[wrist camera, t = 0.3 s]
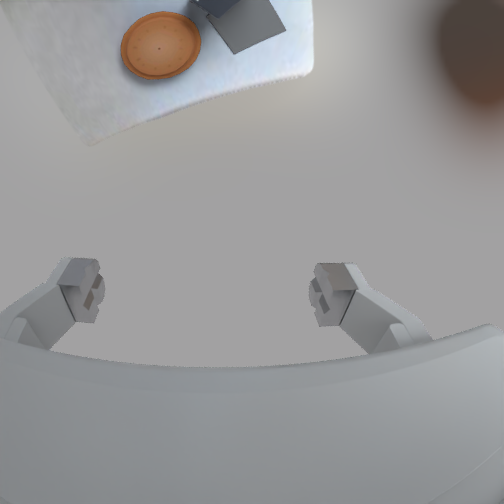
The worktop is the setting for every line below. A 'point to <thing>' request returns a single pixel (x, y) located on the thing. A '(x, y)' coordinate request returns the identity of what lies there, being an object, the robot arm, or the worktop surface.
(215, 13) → the small box
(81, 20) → the worktop surface
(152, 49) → the pie
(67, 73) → the worktop surface
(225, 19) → the rubber mat
